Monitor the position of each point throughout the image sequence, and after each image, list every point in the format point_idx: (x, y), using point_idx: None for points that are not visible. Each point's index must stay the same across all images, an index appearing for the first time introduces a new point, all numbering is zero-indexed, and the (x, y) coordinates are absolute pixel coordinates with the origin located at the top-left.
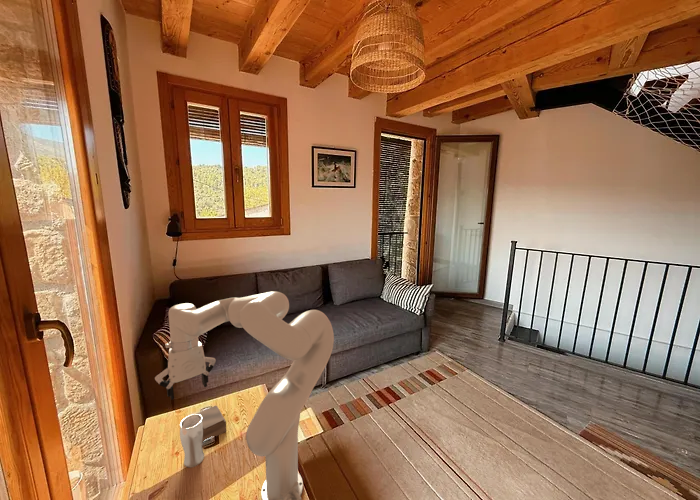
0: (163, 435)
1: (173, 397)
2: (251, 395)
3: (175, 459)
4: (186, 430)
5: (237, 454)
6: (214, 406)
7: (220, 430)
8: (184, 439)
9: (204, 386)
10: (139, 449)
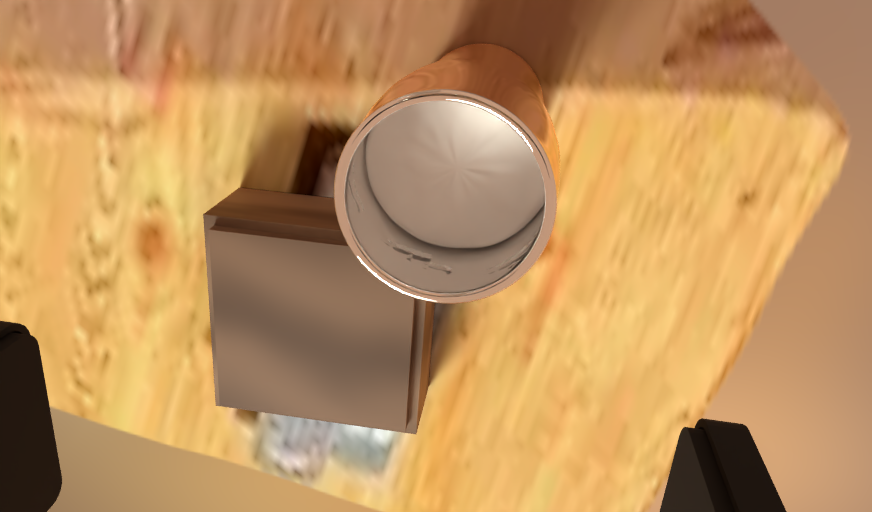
0: (555, 435)
1: (704, 444)
2: None
3: (568, 199)
4: (522, 118)
5: None
6: (230, 403)
7: (267, 201)
8: (544, 110)
9: (30, 350)
10: None
